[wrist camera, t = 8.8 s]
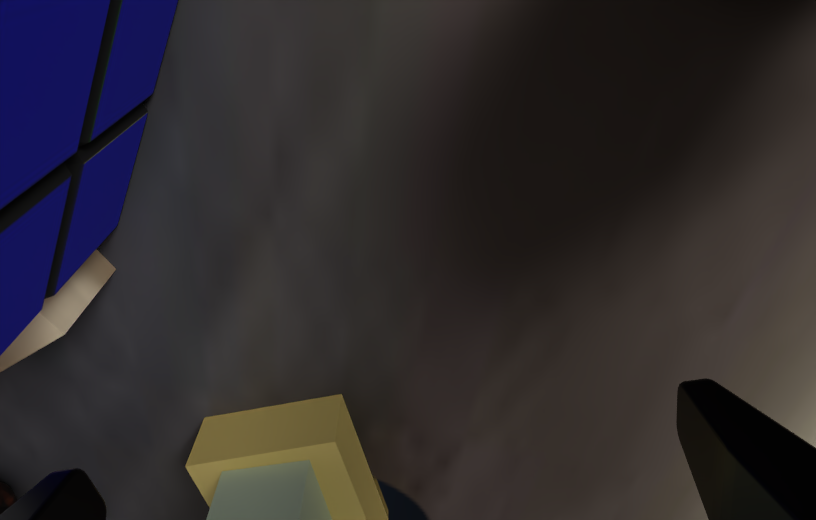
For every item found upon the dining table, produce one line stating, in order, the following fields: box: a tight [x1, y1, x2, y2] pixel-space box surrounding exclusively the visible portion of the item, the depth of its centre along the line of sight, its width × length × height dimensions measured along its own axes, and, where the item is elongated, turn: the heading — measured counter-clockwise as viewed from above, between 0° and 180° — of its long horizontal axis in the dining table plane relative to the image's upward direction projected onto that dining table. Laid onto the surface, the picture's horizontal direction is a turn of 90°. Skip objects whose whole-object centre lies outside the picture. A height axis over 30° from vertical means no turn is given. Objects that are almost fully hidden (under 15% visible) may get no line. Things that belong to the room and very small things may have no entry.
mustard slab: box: [185, 394, 388, 520], centre depth 27 cm, size 6×8×3 cm
